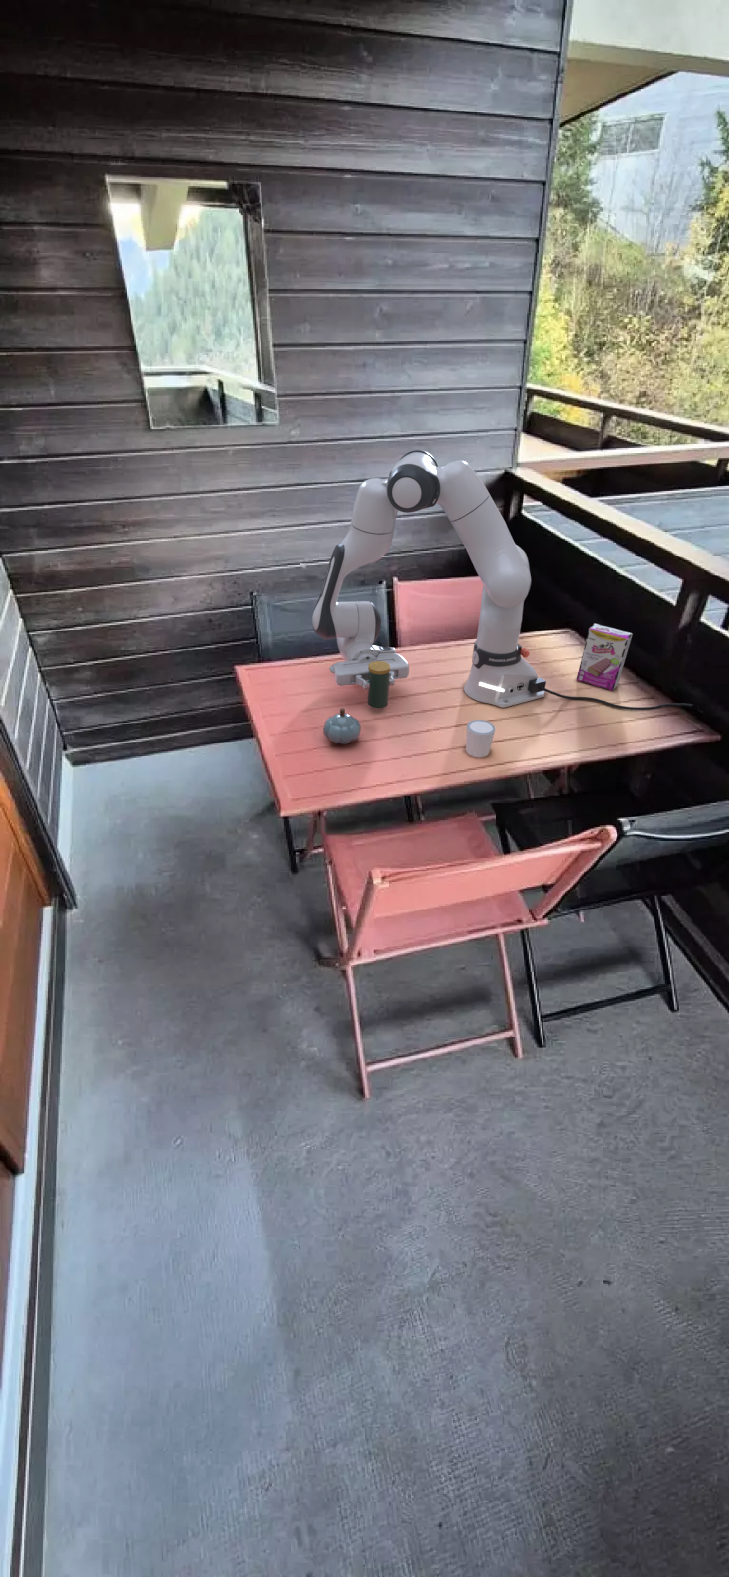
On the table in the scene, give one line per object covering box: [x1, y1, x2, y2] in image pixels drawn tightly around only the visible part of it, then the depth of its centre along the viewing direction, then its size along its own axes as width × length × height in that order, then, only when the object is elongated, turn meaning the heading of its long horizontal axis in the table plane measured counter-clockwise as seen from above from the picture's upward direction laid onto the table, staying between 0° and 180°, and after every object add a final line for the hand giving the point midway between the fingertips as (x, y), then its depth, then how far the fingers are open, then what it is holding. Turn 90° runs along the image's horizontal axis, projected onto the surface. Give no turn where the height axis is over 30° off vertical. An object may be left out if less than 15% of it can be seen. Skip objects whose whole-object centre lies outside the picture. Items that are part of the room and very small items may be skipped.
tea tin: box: [367, 661, 390, 709], centre depth 182 cm, size 6×6×11 cm
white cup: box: [465, 719, 496, 758], centre depth 170 cm, size 7×7×7 cm
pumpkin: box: [322, 707, 362, 745], centre depth 171 cm, size 9×9×9 cm
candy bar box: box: [576, 623, 634, 692], centre depth 198 cm, size 11×5×16 cm, turn 58°
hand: (379, 684), depth 181 cm, fingers closed on tea tin, 5 cm apart
